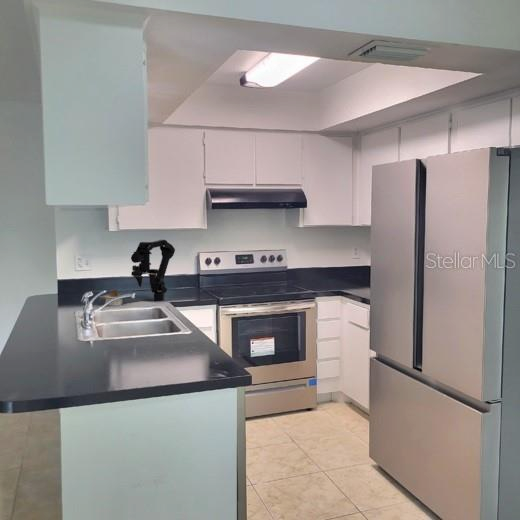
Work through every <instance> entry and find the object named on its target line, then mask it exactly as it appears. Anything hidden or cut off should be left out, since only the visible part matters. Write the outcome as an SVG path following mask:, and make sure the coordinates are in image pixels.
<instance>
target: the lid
mask: <svg viewBox="0 0 520 520" xmlns="http://www.w3.org/2000/svg"><path fill="white" fill-rule="evenodd" d="M121 295H122V294H119V293H118V289H114V288H113V289H110V294H106V295H101V296H100V295H99V296H98V298H100V299H105V300H106V299H113V298H116V297H118V296H121Z"/></svg>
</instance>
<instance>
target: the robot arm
mask: <svg viewBox="0 0 520 520" xmlns="http://www.w3.org/2000/svg"><path fill="white" fill-rule="evenodd" d="M155 248H159V250H160V252H161V256H162V257H161V260H160V264H159V267H158V268H157V269H156V268H151V265H152V263H151V261H150V259H151V257H150V256H151V255H152V252H151V251H152V250H153V249H155ZM175 252H176V248H175V247H174V246H173V245H172V244H171V243H170V242H168V241H167V240H166V239H159V240H155V241H154V240H153V241H140V242H139V244H138V246H137V248H136V250H135V251H133V254H131V257H130V260H131V262H132V263H134V264H136V263H138V265H132V269H131V270H132V271H131V276H132V277H134V278H135V279H136V281H137V285H138V287H140V288H141V287H142V284H143V275H148V276H149V285H150V289H151V292H152V293H153V302H163V301H165V293H167V290H168V289H167V287H166V286H165V280H164V278H165V274H166V272H167V269H168V266H169V262H170V260H171V259H172V258H173V256H174V255H175Z"/></svg>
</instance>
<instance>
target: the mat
mask: <svg viewBox="0 0 520 520" xmlns="http://www.w3.org/2000/svg"><path fill="white" fill-rule="evenodd" d="M157 303H158V302H154V301H153V302H151V301H143V300H140V301H135V302H129V303H122V306H128V307H135V308H144V307H149V306H156V305H158V304H157ZM155 304H156V305H155Z"/></svg>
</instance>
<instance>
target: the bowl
mask: <svg viewBox="0 0 520 520" xmlns="http://www.w3.org/2000/svg"><path fill="white" fill-rule="evenodd" d="M109 300H111V299H105V303H106V302H107V301H109ZM121 305H123V298H122V299H118V300H116V301H114V302H112V303H110V304H109V305H108V306H121Z"/></svg>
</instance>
